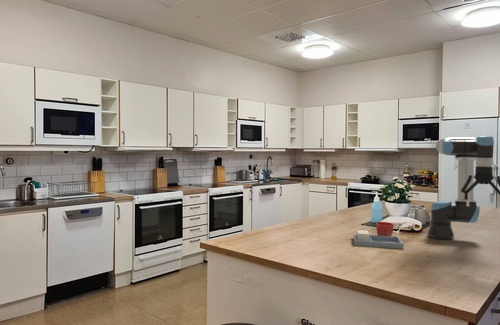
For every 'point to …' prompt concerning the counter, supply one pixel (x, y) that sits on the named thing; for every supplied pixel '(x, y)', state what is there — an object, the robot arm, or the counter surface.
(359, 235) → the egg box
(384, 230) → the flower pot
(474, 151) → the robot arm
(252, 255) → the counter surface
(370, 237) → the grey tray
